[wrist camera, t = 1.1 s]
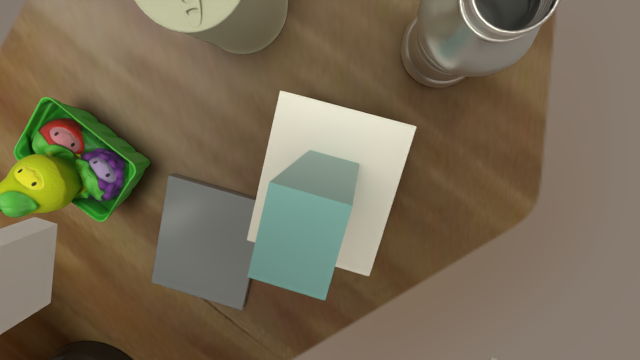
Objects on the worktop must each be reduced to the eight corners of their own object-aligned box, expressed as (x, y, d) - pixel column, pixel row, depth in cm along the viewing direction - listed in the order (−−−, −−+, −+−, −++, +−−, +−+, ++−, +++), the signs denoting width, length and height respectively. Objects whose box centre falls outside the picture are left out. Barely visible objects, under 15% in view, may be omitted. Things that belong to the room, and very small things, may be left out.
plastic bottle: (438, 103, 35) (521, 104, 16) (383, 58, 35) (400, 4, 16) (486, 46, 34) (644, -29, 14) (429, -1, 34) (511, -141, 14)
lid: (369, 265, 32) (369, 385, 19) (254, 231, 33) (173, 322, 19) (413, 125, 30) (451, 144, 16) (286, 91, 30) (217, 81, 16)
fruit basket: (167, 159, 40) (91, 181, 29) (127, 219, 42) (43, 259, 31) (83, 93, 40) (-24, 90, 29) (48, 156, 42) (-65, 175, 31)
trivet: (244, 305, 43) (241, 310, 42) (156, 278, 43) (151, 282, 42) (269, 201, 40) (266, 203, 39) (173, 173, 40) (168, 175, 39)
